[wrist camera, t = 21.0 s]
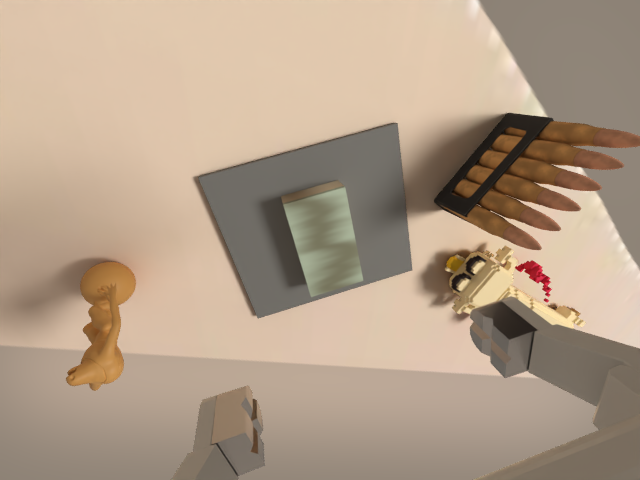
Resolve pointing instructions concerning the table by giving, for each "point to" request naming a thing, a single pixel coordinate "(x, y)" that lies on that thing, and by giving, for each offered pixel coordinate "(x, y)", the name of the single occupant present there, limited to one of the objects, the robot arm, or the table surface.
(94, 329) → the figurine
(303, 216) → the pale green streaked tile
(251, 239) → the rubber mat
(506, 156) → the ammunition clip
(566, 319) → the cat figure
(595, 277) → the table surface
